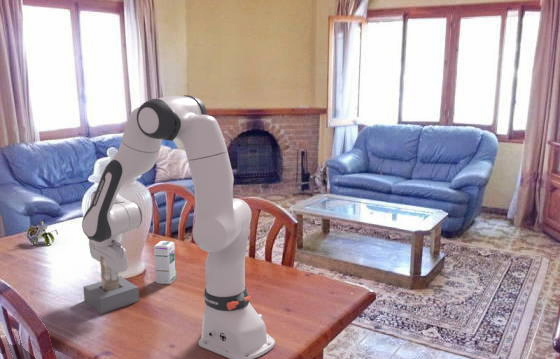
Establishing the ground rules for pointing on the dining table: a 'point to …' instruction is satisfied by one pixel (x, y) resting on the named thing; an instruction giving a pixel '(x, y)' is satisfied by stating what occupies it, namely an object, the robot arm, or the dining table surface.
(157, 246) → the syrup box
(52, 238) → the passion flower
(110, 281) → the cream peg
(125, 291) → the socket block
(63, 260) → the dining table surface
